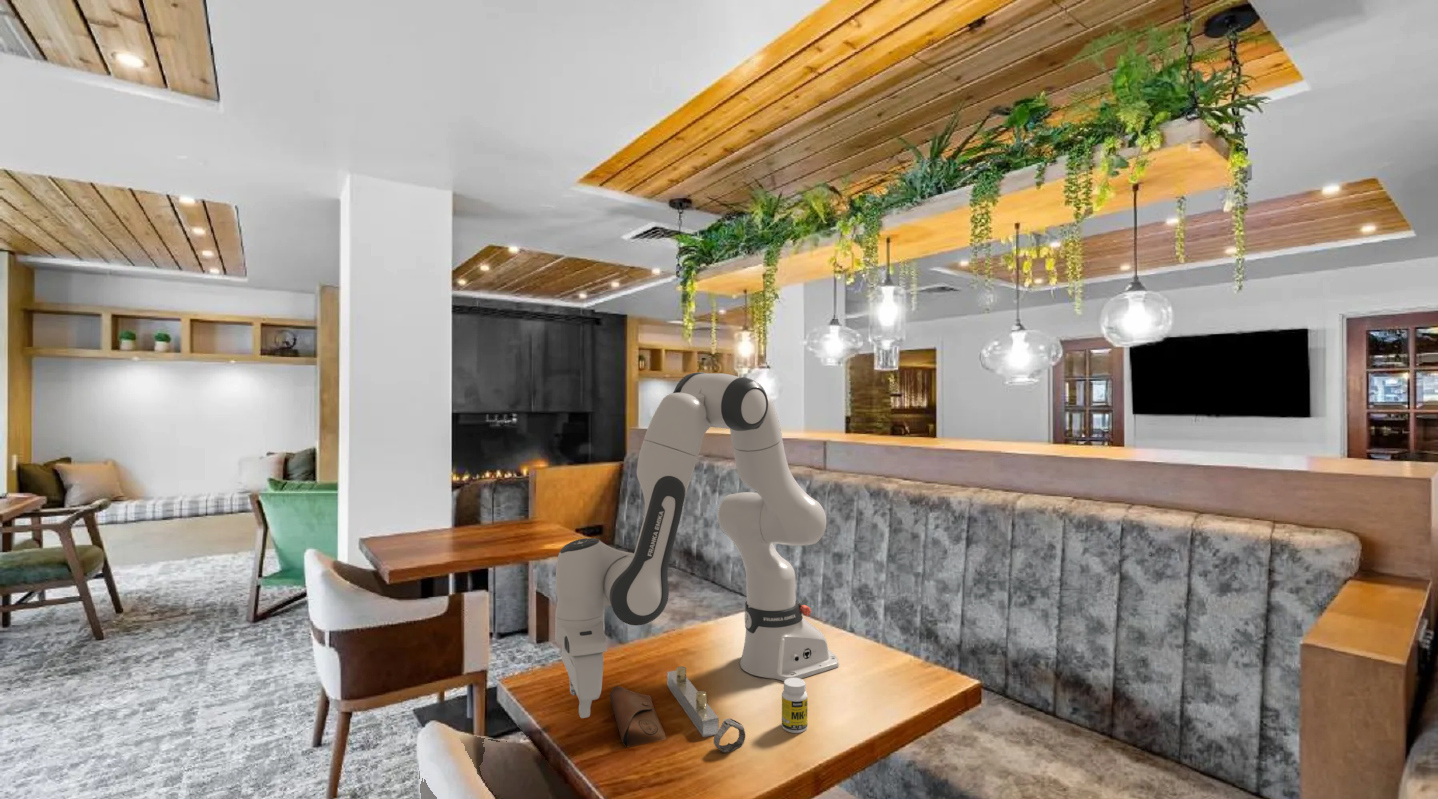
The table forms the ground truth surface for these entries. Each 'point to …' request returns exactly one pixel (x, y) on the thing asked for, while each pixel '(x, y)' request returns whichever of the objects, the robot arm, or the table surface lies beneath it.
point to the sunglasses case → (635, 717)
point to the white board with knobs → (693, 702)
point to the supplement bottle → (794, 705)
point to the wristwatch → (724, 727)
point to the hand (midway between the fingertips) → (579, 704)
